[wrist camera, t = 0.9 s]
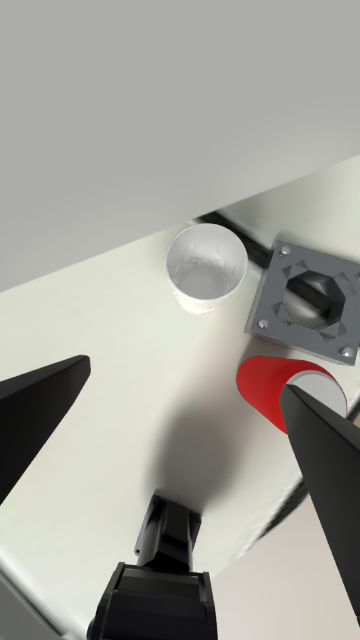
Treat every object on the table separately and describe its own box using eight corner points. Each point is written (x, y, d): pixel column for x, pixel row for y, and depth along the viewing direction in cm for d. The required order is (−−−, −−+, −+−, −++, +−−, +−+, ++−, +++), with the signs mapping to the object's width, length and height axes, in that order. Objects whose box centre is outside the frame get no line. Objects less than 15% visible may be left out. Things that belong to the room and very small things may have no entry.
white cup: (162, 283, 28) (149, 249, 19) (207, 257, 29) (218, 209, 19) (190, 329, 27) (192, 317, 17) (237, 300, 28) (265, 273, 18)
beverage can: (229, 395, 26) (265, 435, 14) (239, 350, 27) (281, 351, 15) (275, 409, 25) (352, 462, 13) (284, 362, 26) (364, 374, 14)
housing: (338, 364, 26) (358, 366, 23) (243, 332, 27) (251, 329, 24) (359, 276, 27) (380, 267, 24) (269, 249, 29) (279, 237, 26)
